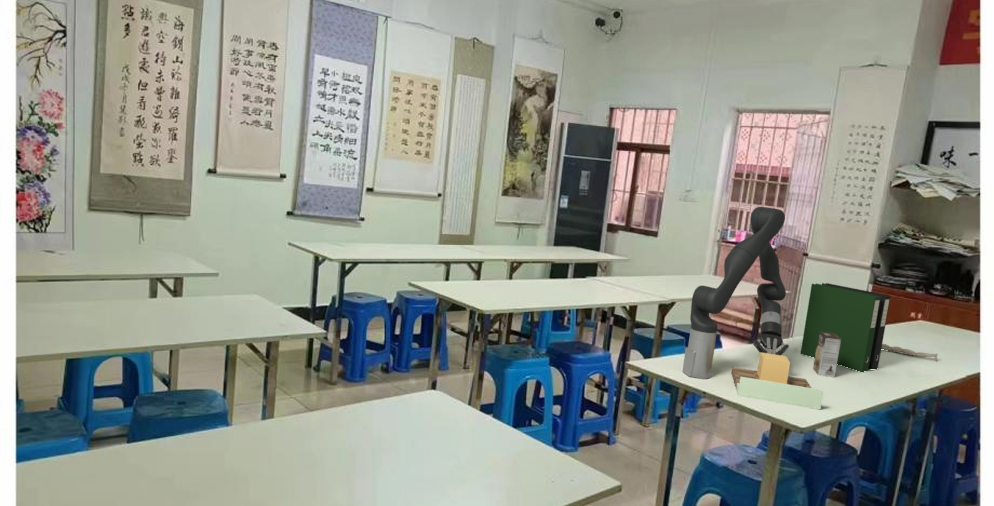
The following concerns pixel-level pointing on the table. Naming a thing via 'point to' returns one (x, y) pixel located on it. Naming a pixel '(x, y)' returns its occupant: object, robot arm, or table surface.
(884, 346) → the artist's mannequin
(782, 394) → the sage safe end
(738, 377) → the board
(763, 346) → the robot arm
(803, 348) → the binder
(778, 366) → the ochre block
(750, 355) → the table surface
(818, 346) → the coffee box
